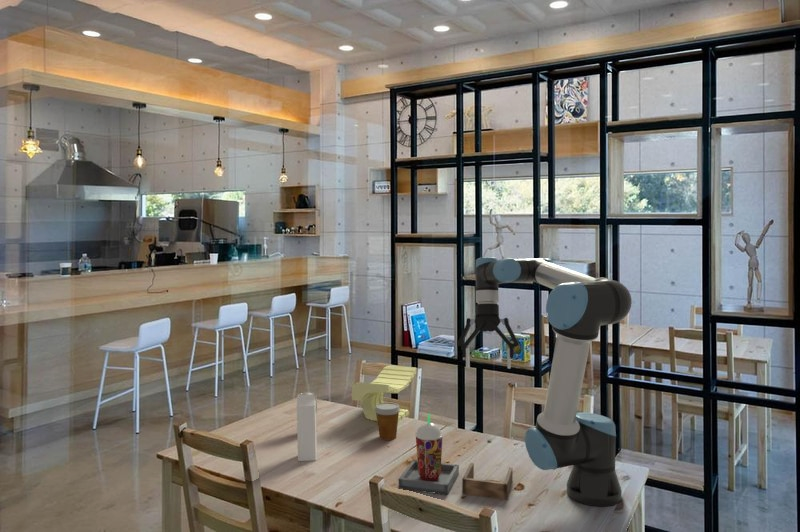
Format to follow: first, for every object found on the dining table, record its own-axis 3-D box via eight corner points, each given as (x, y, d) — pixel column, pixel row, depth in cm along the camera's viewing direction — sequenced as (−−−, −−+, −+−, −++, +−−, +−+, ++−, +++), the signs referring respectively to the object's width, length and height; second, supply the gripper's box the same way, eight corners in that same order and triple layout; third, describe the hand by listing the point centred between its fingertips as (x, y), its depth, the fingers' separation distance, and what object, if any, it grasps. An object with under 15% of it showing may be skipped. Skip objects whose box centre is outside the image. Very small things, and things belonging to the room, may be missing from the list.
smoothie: (441, 484, 172) (440, 419, 171) (413, 482, 174) (413, 417, 172) (444, 473, 180) (444, 410, 179) (418, 471, 182) (417, 409, 181)
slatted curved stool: (383, 404, 256) (382, 364, 255) (416, 407, 250) (415, 367, 249) (352, 425, 229) (351, 381, 228) (389, 430, 223) (388, 384, 222)
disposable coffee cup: (405, 438, 214) (405, 406, 213) (383, 443, 208) (383, 411, 208) (391, 431, 222) (390, 400, 221) (370, 436, 216) (369, 405, 215)
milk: (315, 460, 194) (314, 396, 192) (297, 461, 193) (296, 397, 192) (316, 453, 200) (315, 391, 198) (299, 454, 199) (297, 392, 198)
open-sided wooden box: (512, 482, 175) (512, 467, 175) (507, 499, 164) (507, 484, 164) (470, 477, 179) (470, 462, 179) (462, 493, 168) (462, 478, 168)
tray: (458, 474, 182) (458, 464, 181) (447, 495, 167) (447, 485, 167) (413, 468, 186) (413, 459, 186) (398, 488, 172) (398, 478, 172)
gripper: (526, 303, 192) (527, 368, 189) (453, 305, 199) (453, 367, 196) (524, 302, 185) (525, 369, 181) (448, 303, 192) (448, 367, 189)
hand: (488, 368), depth 189 cm, fingers open, 13 cm apart
